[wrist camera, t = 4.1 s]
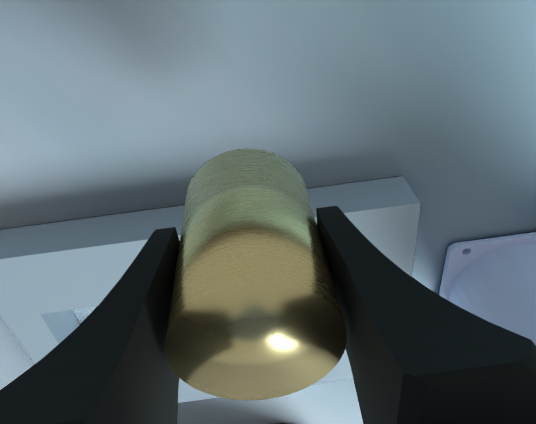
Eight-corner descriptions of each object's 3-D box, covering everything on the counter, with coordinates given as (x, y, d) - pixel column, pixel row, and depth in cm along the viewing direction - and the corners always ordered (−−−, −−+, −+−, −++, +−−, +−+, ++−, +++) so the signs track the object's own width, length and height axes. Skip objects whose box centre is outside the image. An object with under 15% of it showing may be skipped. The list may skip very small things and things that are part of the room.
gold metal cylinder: (304, 140, 14) (347, 272, 9) (310, 241, 16) (346, 387, 11) (172, 158, 14) (142, 299, 9) (199, 256, 16) (187, 409, 11)
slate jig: (403, 175, 22) (421, 202, 20) (387, 342, 31) (399, 373, 29) (-14, 231, 22) (-37, 263, 20) (83, 383, 31) (73, 417, 28)
